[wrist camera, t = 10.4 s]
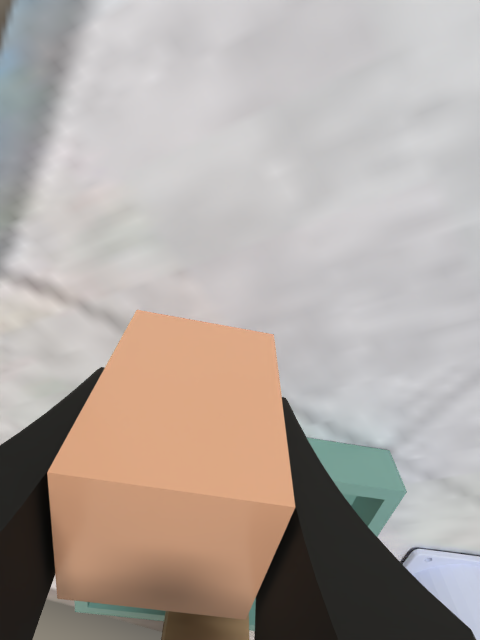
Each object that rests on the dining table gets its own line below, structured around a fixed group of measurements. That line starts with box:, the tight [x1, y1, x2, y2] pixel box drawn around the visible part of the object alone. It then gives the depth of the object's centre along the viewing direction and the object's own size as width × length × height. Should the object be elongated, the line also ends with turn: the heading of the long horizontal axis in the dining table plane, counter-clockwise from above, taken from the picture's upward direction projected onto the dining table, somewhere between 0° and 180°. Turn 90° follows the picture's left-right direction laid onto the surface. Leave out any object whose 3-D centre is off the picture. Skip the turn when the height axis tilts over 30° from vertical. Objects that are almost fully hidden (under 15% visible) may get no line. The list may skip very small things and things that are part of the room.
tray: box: [75, 438, 407, 631], centre depth 22 cm, size 16×16×2 cm
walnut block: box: [161, 611, 249, 640], centre depth 22 cm, size 4×4×6 cm
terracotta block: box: [47, 310, 295, 620], centre depth 10 cm, size 4×4×6 cm
